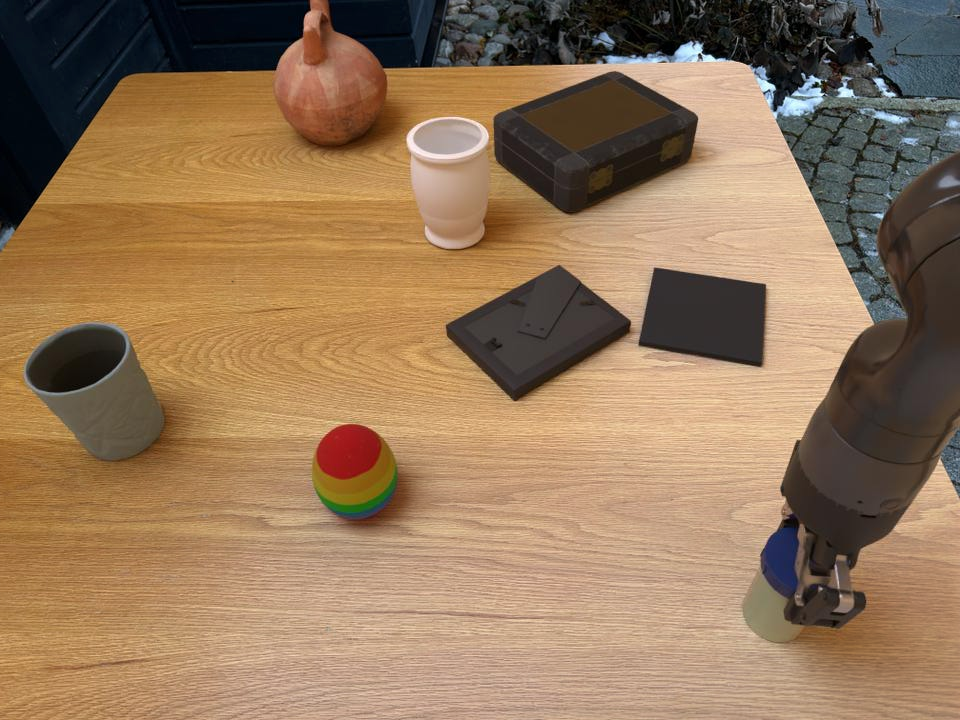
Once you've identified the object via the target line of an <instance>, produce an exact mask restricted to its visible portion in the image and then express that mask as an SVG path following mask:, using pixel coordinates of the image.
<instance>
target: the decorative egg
mask: <svg viewBox="0 0 960 720" xmlns="http://www.w3.org/2000/svg"><path fill="white" fill-rule="evenodd" d="M398 472H399V471H398V465H397V462H396V458H395V455H394V452H393V451H392V449H391V446H390V445H389V444H388V442H387V441H386V439H384V438H383V436H381V435H380V434H379V433H378V432H376V431H375V430H373V429H372V428H370V427H367V426H366V425H363V424H357V423H345V424H341V425H339V426H336V427H333V428H332V429H330V430H329V431H328V432H327V433H326V434H325V435H324V437H322V438H321V440H320V442H319V443H318V444H317V447H316V448H315V450H314V454H313V457H312V463H311V477H312V478H311V480H312V484H313V488H314V490H315V492H316V493H315V494H316V495H317V497H318V499H319V500H320V501H321V503H322V504H323V505H324V506H325V507H326V508H327V510H329V511H330V512H332V513H333V514H335V515H337V516H338V517H341V518H344V519H349V520H364V519H368V518H370V517H372V516H375V515H376V514H378V513H380V512H381V511H382V510H383V509H384V508H385V507H386V506H387V505H388V504H389V503H390V501H391V499H392V498H393V497H394V494H395V492H396V489H397V484H398V474H399V473H398Z"/></svg>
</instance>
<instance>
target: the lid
mask: <svg viewBox="0 0 960 720" xmlns="http://www.w3.org/2000/svg"><path fill="white" fill-rule="evenodd" d="M798 531H799V528H797V527H787V528H783V529H780V530H778V531H777V530H776V531H774V532H773V533H772V534H771V535H770V536H769V537H768V539H767V541H766V543H765V545H764V547H763V548H762V550H761V552H760V554H759V557H760V560H759V562H760V563H759V564H760V565H761V569H762V574H763V575H764V577H765V579H766V580H767V582H768V583H769V584H770V586H771V587H772V588H773V589H774V590H775V591H777V592H778V593H779V594H781V595H782V596H784V597H786V598H788V599H790V598H791V596H792V595H793V593H794V591H796V587H797V583H798V578H797V575H796V573H795V570H794V565H795V560H796V556H797V551H798V547H799V540H798V538H797V535H798ZM808 565H813V566H819V565H816V564H814V563H812V562H811V561H810V560H809V564H808ZM819 586H825V585H820V584H812V585H811V586H810V588H809V590H818V587H819Z"/></svg>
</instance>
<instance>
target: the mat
mask: <svg viewBox="0 0 960 720" xmlns="http://www.w3.org/2000/svg"><path fill="white" fill-rule="evenodd" d="M766 293H767V283H760V282H754V281H748V280H742V279H736V278H735V279H734V278H728V277H720V276H716V275H715V276H714V275H707V274H702V273H696V272H695V273H694V272H687V271H681V270H676V269H675V270H674V269H669V268H662V267H653V272H652V275H651V281H650V285H649V290H648V296H647V301H646V304H645V305H646V306H645V310H644V315H643V320H642V325H641V329H640V335H639V341H638V346H639V347H644V348H650V349H655V350H661V351H668V352H672V353H679V354H685V355H691V356H696V357H702V358H707V359H712V360H713V359H714V360H719V361H723V362H724V361H725V362H730V363H735V364H736V363H737V364H742V365H747V366H753V367H759V368H761V367H762V365H763V361H764V360H763V359H764V337H765V319H766V318H765V317H766V316H765V315H766V296H767V294H766Z"/></svg>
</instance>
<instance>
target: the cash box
mask: <svg viewBox="0 0 960 720" xmlns="http://www.w3.org/2000/svg"><path fill="white" fill-rule="evenodd" d="M698 123H699V116H698V115H697V114H696V113H695V112H694V111H692V110H690V109H689V108H687V107H685V106H683V105H681V104H679V103H678V102H676V101H674V100H672V99H670V98H669V97H667V96H665V95H663V94H662V93H659V92H658V91H656V90H654V89H652V88H650V87H649V86H646V85H644V84H643V83H641V82H639V81H638V80H635V79H634V78H631V77H630V76H628V75H627V74H624V73H623V72H620V71H617V70H613V71H608V72H605V73H602V74H600V75H597V76H595V77H591V78H589V79H586V80H584V81H580V82H578V83H575V84H573V85H570V86H567V87H565V88H561V89H559V90H556V91H554V92H551V93H548V94H545V95H543V96H540V97H538V98H535V99H532V100H529V101H526V102H524V103H522V104H519V105H516V106H513V107H511V108H508V109H505V110H503V111H500V112H498V113H497V114H495V115H494V116H493V151H494V153H493V154H494V155H493V156H494V158H495V160H496V162H497V163H499V164H500V165H502V166H503V167H504V168H505V169H507V170H508V171H509V172H510V173H512V174H513V175H515V176H516V177H517V178H518V179H520V180H521V181H522V182H523V183H525V184H527V186H529V187H530V188H531V189H532V190H534V191H535V192H536V193H538V194H540V195H541V196H542V197H543V198H545V199H546V200H547V201H549V202H550V203H551V204H552V205H554V206H555V207H556V208H557V209H559V210H560V211H563V212H566V213H575V212H579V211H580V210H583V209H585V208H587V207H589V206H591V205H594V204H596V203H598V202H600V201H603V200H605V199H607V198H610V197H612V196H614V195H616V194H618V193H621V192H623V191H625V190H627V189H630V188H632V187H634V186H636V185H638V184H641V183H643V182H645V181H647V180H650V179H652V178H654V177H657V176H659V175H661V174H663V173H665V172H667V171H670V170H671V169H674V168H676V167H679V166H681V165H683V164H685V163H687V162H689V160H691V157H692V155H693V150H694V144H695V140H696V134H697V129H698Z"/></svg>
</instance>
